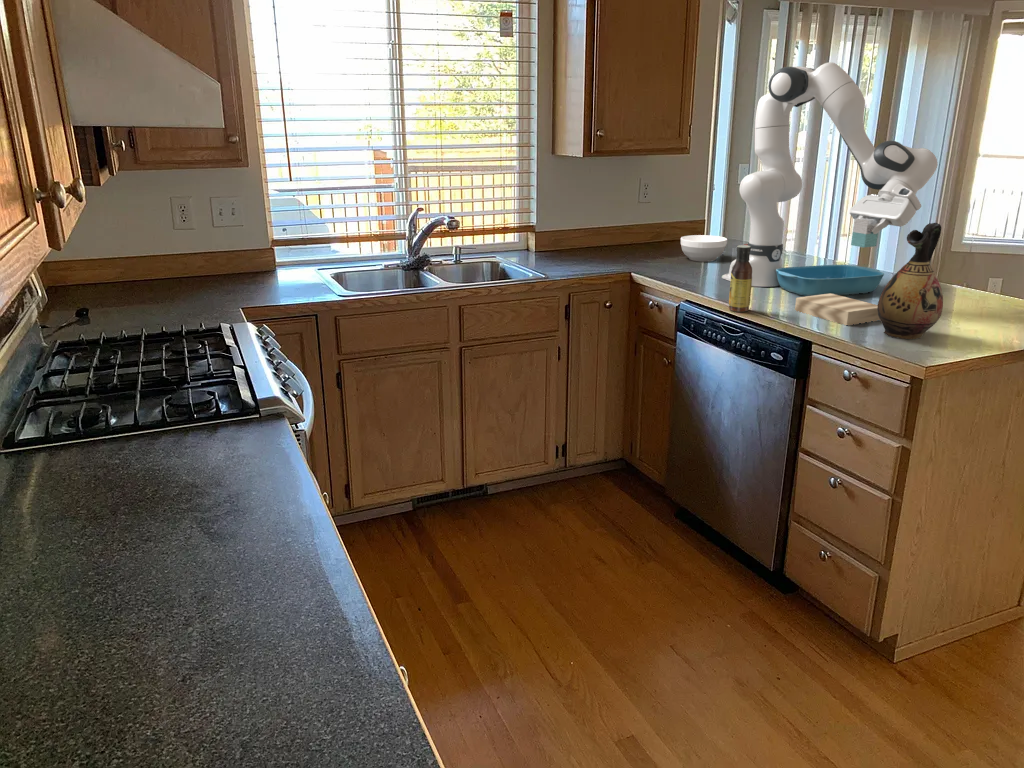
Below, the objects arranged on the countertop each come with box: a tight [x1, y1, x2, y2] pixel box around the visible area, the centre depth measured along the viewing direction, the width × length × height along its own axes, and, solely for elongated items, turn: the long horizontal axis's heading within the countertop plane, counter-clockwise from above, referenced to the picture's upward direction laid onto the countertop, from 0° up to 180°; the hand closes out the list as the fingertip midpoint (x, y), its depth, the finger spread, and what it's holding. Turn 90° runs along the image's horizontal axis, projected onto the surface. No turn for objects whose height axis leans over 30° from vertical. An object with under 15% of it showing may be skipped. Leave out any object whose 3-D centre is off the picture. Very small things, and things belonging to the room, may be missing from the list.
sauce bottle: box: [728, 244, 752, 313], centre depth 229 cm, size 6×6×20 cm
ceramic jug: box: [877, 222, 944, 340], centre depth 200 cm, size 17×15×30 cm
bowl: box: [680, 234, 728, 263], centre depth 315 cm, size 19×19×9 cm
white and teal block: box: [850, 218, 880, 248], centre depth 228 cm, size 5×5×8 cm
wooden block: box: [794, 293, 880, 326], centre depth 225 cm, size 20×14×4 cm
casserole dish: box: [776, 264, 885, 297], centre depth 257 cm, size 37×22×7 cm, turn 106°
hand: (863, 231), depth 228 cm, fingers closed on white and teal block, 5 cm apart
